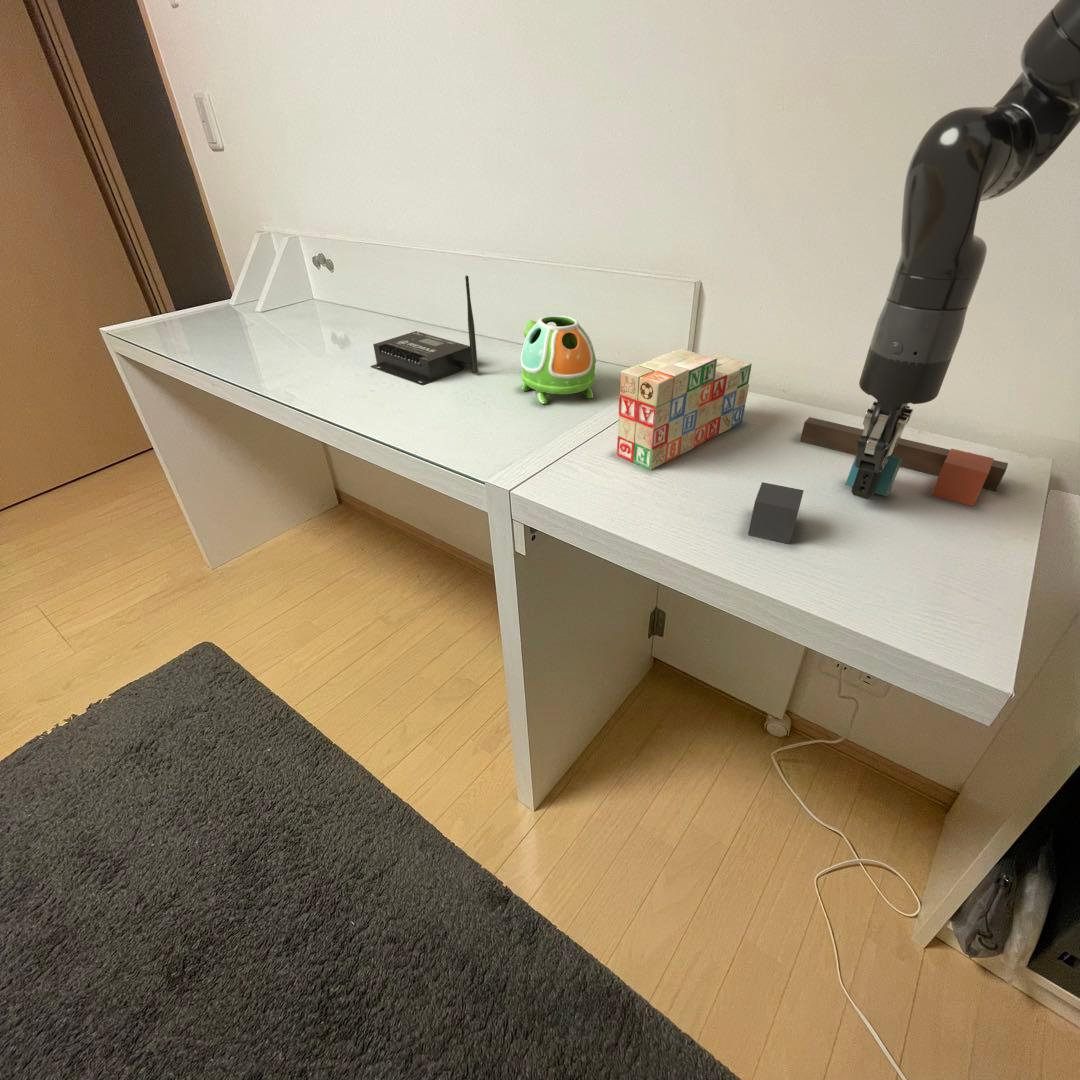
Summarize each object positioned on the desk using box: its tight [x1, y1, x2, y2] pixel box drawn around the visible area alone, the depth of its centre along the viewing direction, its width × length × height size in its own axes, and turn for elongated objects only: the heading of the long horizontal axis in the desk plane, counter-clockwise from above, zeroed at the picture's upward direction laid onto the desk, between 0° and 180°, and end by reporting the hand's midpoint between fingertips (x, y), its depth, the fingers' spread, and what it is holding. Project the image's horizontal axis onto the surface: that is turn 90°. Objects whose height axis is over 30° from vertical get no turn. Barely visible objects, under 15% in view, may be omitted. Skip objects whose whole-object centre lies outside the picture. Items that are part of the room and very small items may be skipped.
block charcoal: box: [747, 481, 805, 545], centre depth 68 cm, size 4×4×4 cm
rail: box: [799, 416, 1009, 492], centre depth 81 cm, size 24×2×3 cm, turn 52°
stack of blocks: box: [616, 348, 753, 471], centre depth 85 cm, size 21×6×12 cm, turn 131°
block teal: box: [844, 454, 902, 497], centre depth 73 cm, size 4×4×4 cm
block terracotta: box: [930, 448, 995, 507], centre depth 73 cm, size 4×4×4 cm
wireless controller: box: [369, 275, 479, 386], centre depth 111 cm, size 20×14×17 cm
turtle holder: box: [520, 314, 597, 405], centre depth 103 cm, size 12×18×12 cm
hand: (861, 494), depth 72 cm, fingers closed
